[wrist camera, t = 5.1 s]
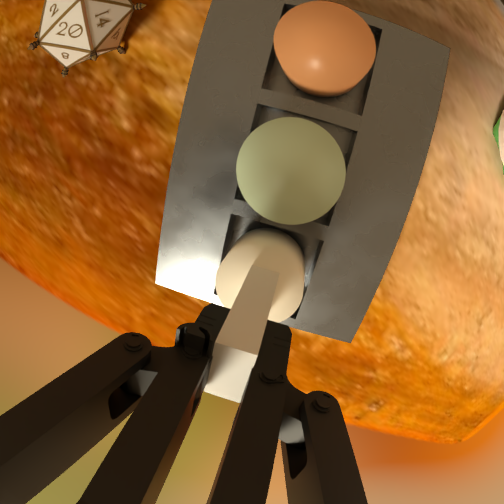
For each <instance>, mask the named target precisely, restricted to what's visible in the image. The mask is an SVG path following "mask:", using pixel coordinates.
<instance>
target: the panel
mask: <svg viewBox="0 0 504 504" xmlns="http://www.w3.org/2000/svg"><path fill="white" fill-rule="evenodd" d="M311 1H319V0H212V3H211V6H210V9H209V12H208V15H207V18H206V22H205V25H204V28H203V32H202V35H201V38H200V42H199V45H198V49H197V53H196V56H195V60H194V64H193V68H192V72H191V75H190V79H189V83H188V88H187V92H186V96H185V100H184V105H183V109H182V114H181V118H180V123H179V128H178V133H177V137H176V143H175V148H174V153H173V158H172V164H171V170H170V175H169V181H168V187H167V194H166V200H165V207H164V214H163V221H162V228H161V236H160V244H159V253H158V262H157V271H156V282H155V283H156V284H159V285H161V286H164V287H167V288H170V289H173V290H176V291H178V292H181V293H184V294H187V295H190V296H193V297H196V298H199V299H202V300H205V301H208V302H211V303H214V304H217V305H220V306H223V305H222V303H221V302H220V300H219V298H218V295H217V292H216V287H215V278H216V273H217V270H218V268H219V266H220V264H221V263H222V261H223V260H224V258H225V257H226V255H227V254H228V253H229V251H230V250H231V248H232V247H233V245H234V244H235V243H236V241H237V240H238V239H239V238H240V237H241V236H242V235H244V234H245V233H247V232H249V231H251V230H254V229H259V228H272V229H277V230H280V231H282V232H284V233H286V234H288V235H289V236H291V237H292V238H293V239H294V240H295V241H296V242H297V243H298V245H299V246H300V248H301V250H302V252H303V254H304V258H305V277H304V290H303V297H302V301H301V303H300V305H299V307H298V308H297V310H296V311H295V312H294V313H293V314H292V315H291V316H290V317H289V318H287V319H286V320H284V321H282V322H279V323H281V324H284V325H288V326H289V327H293V328H296V329H300V330H303V331H307V332H311V333H314V334H318V335H322V336H325V337H329V338H333V339H337V340H341V341H344V342H348V343H351V341H352V339H353V338H354V336H355V334H356V332H357V330H358V328H359V326H360V324H361V322H362V320H363V318H364V316H365V314H366V312H367V310H368V307H369V305H370V303H371V301H372V299H373V297H374V295H375V293H376V290H377V288H378V286H379V284H380V281H381V279H382V277H383V275H384V272H385V270H386V268H387V265H388V263H389V261H390V258H391V256H392V253H393V251H394V248H395V246H396V243H397V241H398V238H399V236H400V233H401V231H402V228H403V225H404V223H405V220H406V217H407V215H408V212H409V209H410V206H411V203H412V200H413V197H414V194H415V192H416V188H417V185H418V182H419V179H420V176H421V173H422V170H423V166H424V163H425V160H426V156H427V153H428V149H429V146H430V142H431V138H432V134H433V131H434V127H435V123H436V119H437V114H438V110H439V106H440V101H441V97H442V92H443V87H444V82H445V76H446V71H447V65H448V59H449V53H450V48H448V47H446V46H444V45H442V44H440V43H438V42H436V41H434V40H432V39H430V38H428V37H425V36H423V35H421V34H419V33H416V32H414V31H412V30H409V29H407V28H405V27H402V26H400V25H397V24H394V23H392V22H389V21H386V20H384V19H381V18H378V17H375V16H372V15H369V14H366V13H363V12H360V11H357V10H353V9H351V10H353V11H354V12H356V13H357V14H358V15H359V16H360V17H361V18H363V20H364V21H365V22H366V23H367V24H368V26H369V28H370V29H371V31H372V33H373V36H374V39H375V44H376V54H375V59H374V62H373V65H372V67H371V68H370V70H369V71H368V73H367V74H366V75H365V76H364V77H363V78H362V79H361V81H360V82H359V83H358V84H357V85H356V86H355V87H354V88H353V89H351V90H350V91H348V92H347V93H345V94H342V95H339V96H335V97H318V96H313V95H310V94H307V93H305V92H303V91H301V90H300V89H298V88H297V87H296V86H294V85H293V84H292V83H291V82H290V81H289V79H288V78H287V77H286V75H285V73H284V71H283V69H282V67H281V64H280V62H279V60H278V58H277V55H276V53H275V49H274V42H273V41H274V32H275V29H276V26H277V24H278V22H279V20H280V19H281V18H282V17H283V15H284V14H285V13H287V12H288V11H289V10H290V9H292V8H294V7H295V6H297V5H300V4H302V3H306V2H311ZM349 9H350V8H349ZM282 117H297V118H302V119H306V120H309V121H312V122H314V123H316V124H318V125H319V126H321V127H322V128H324V129H325V130H326V131H327V132H328V133H329V134H330V135H331V136H332V137H333V138H334V139H335V141H336V142H337V144H338V145H339V147H340V149H341V152H342V154H343V157H344V161H345V169H346V175H345V183H344V187H343V190H342V192H341V195H340V197H339V198H338V200H337V202H336V203H335V204H334V206H333V207H332V208H331V209H330V210H329V211H328V212H327V213H325V214H324V215H323V216H321V217H319V218H318V219H315V220H313V221H311V222H307V223H304V224H297V225H288V224H281V223H277V222H274V221H271V220H269V219H267V218H265V217H263V216H261V215H260V214H259V213H257V212H256V211H255V210H254V209H253V208H252V207H251V206H250V205H249V204H248V203H247V201H246V200H245V198H244V197H243V195H242V193H241V191H240V188H239V185H238V181H237V175H236V164H237V158H238V154H239V151H240V149H241V147H242V145H243V143H244V141H245V140H246V138H247V137H248V136H249V135H250V134H251V133H252V132H253V131H254V130H255V129H256V128H258V127H259V126H260V125H262V124H264V123H266V122H268V121H271V120H274V119H277V118H282ZM223 307H224V306H223Z"/></svg>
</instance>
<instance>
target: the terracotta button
mask: <svg viewBox="0 0 504 504" xmlns="http://www.w3.org/2000/svg"><path fill="white" fill-rule="evenodd" d="M273 42H274V49H275V53H276V55H277V58H278V60H279V62H280V64H281V67H282V69H283V71H284V73H285V75H286V77H287V78H288V79H289V81H290V82H291V83H292V84H293V85H294V86H296V87H297V88H298V89H300V90H301V91H303V92H305V93H307V94H310V95H313V96H318V97H335V96H339V95H342V94H345V93H347V92H348V91H350V90H351V89H353V88H354V87H355V86H356V85H357V84H358V83H359V82H360V81H361V79H362V78H363V77H364V76H365V75H366V74H367V73H368V71H369V70H370V68H371V67H372V65H373V62H374V59H375V54H376V44H375V39H374V36H373V33H372V31H371V29H370V28H369V26H368V24H367V23H366V22H365V21H364V20H363V18H361V17H360V16H359V15H358V14H357V13H356V12H354V11H353V10H351V9H349V8H348V7H346V6H343V5H341V4H338V3H334V2H329V1H311V2H306V3H302V4H300V5H297V6H295V7H294V8H292V9H290V10H289V11H288V12H287V13H285V14H284V15H283V17H282V18H281V19H280V20H279V22H278V24H277V26H276V29H275V32H274V41H273Z"/></svg>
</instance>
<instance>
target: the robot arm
mask: <svg viewBox="0 0 504 504" xmlns="http://www.w3.org/2000/svg"><path fill="white" fill-rule="evenodd" d="M279 274H280V273H277V272H274V271H271V270H268V269H264V268H261V267H258V266H254V265H252V266H251V268H250V270H249V272H248V274H247V276H246V278H245V280H244V282H243V285H242V287H241V289H240V291H239V293H238V295H237V297H236V299H235V301H234V303H233V305H232V308H231V309H229V308H226V307H223V306H220V305H217V304H214V303H211V304H209V305H207V306H206V307H204V308H203V310H202V312H201V313H200V315H199V316H198V318H197V320H196V321H195V323H185V324H182V325H180V326H179V327H178V328H177V331H176V339H175V346H174V347H157V346H152V345H151V342H150V340H149V339H148V338H147V337H146V336H144V335H142V334H140V333H134V332H130V333H125V334H122V335H120V336H119V337H117V338H116V339H114V340H113V341H111V342H110V343H108V344H107V345H105V346H104V347H102V348H101V349H99V350H98V351H96V352H95V353H93V354H92V355H90V356H89V357H87V358H86V359H84V360H83V361H82V362H80V363H78V364H77V365H76V366H74V367H72V368H71V369H69V370H68V371H66V372H65V373H63V374H62V375H61V376H59V377H57V378H56V379H54V380H53V381H51V382H50V383H48V384H47V385H45V386H44V387H42V388H41V389H40V390H38V391H37V392H35V393H34V394H32V395H31V396H29V397H28V398H26V399H25V400H23V401H22V402H20V403H19V404H17V405H16V406H14V407H13V408H11V409H10V410H8V411H7V412H5V413H4V414H2V415H1V416H0V504H26V503H27V502H28V501H29V500H31V499H32V498H33V497H34V496H36V495H37V494H38V493H39V492H40V491H42V490H43V489H44V488H45V487H46V486H47V485H49V484H50V483H51V482H52V481H54V480H55V479H56V478H57V477H59V476H60V475H61V474H62V473H63V472H64V471H65V470H67V469H68V468H69V467H70V466H72V465H73V464H74V463H75V462H76V461H77V460H79V459H80V458H81V457H82V456H83V455H84V454H86V453H87V452H88V451H89V450H90V449H91V448H92V447H94V446H95V445H96V444H97V443H98V442H99V441H100V440H102V439H103V438H104V437H105V436H106V435H107V434H108V433H110V431H112V430H113V429H114V428H115V427H116V426H117V425H119V424H120V423H121V422H122V421H123V420H124V419H125V418H126V417H127V416H129V414H131V413H132V412H133V413H132V415H131V416H130V418H129V419H128V421H127V423H126V424H125V426H124V428H123V429H122V431H121V432H120V434H119V436H118V437H117V439H116V441H115V442H114V444H113V445H112V447H111V449H110V450H109V452H108V454H107V455H106V457H105V458H104V461H103V462H102V463H101V465H100V467H99V468H98V470H97V472H96V474H95V475H94V477H93V478H92V480H91V482H90V483H89V485H88V487H87V488H86V490H85V492H84V493H83V495H82V497H81V498H80V500H79V501H78V502H77V503H76V504H155V503H156V501H157V498H158V496H159V494H160V492H161V489H162V487H163V485H164V483H165V480H166V478H167V476H168V474H169V472H170V469H171V467H172V465H173V463H174V460H175V458H176V456H177V453H178V451H179V449H180V447H181V444H182V442H183V440H184V438H185V435H186V433H187V431H188V428H189V426H190V424H191V422H192V419H193V417H194V415H195V412H196V410H197V408H198V406H199V403H200V400H201V395H202V393H203V390H204V391H205V392H207V393H210V394H214V395H216V396H220V397H222V398H226V399H229V400H232V401H235V402H238V403H240V405H239V407H238V410H237V413H236V416H235V418H234V421H233V425H232V429H231V432H230V435H229V438H228V441H227V444H226V447H225V450H224V453H223V457H222V459H221V462H220V465H219V468H218V471H217V474H216V477H215V480H214V483H213V486H212V489H211V492H210V495H209V498H208V500H207V503H206V504H265V503H266V499H267V493H268V489H269V484H270V479H271V474H272V469H273V464H274V458H275V454H276V449H277V443H278V439H280V440H281V448H282V456H283V464H284V473H285V481H286V488H287V497H288V504H368V503H367V499H366V496H365V492H364V488H363V485H362V481H361V478H360V474H359V470H358V466H357V463H356V459H355V456H354V453H353V449H352V445H351V442H350V438H349V435H348V432H347V428H346V425H345V422H344V418H343V415H342V412H341V408H340V405H339V403H338V401H337V400H336V399H335V398H334V397H333V396H332V395H330V394H329V393H327V392H323V391H312V392H310V393H308V394H305V393H303V392H301V391H300V390H298V389H296V388H295V387H294V386H293V385H292V384H291V383H290V382H289V380H288V378H287V375H286V371H287V364H288V358H289V351H290V344H291V337H292V333H291V330H290V328H289V326H288V325H284V324H281V323H278V322H274V321H271V320H268V316H269V312H270V309H271V305H272V301H273V297H274V293H275V289H276V286H277V282H278V278H279ZM204 388H205V389H204Z"/></svg>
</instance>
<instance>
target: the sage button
mask: <svg viewBox="0 0 504 504" xmlns="http://www.w3.org/2000/svg"><path fill="white" fill-rule="evenodd" d="M236 175H237V181H238V185H239V188H240V191H241V193H242V195H243V197H244V198H245V200H246V201H247V203H248V204H249V205H250V206H251V207H252V208H253V209H254V210H255V211H256V212H257V213H259V214H260V215H261V216H263V217H265V218H267V219H269V220H271V221H274V222H277V223H281V224H288V225H297V224H304V223H307V222H311V221H313V220H315V219H318V218H319V217H321V216H323V215H324V214H325V213H327V212H328V211H329V210H330V209H331V208H332V207H333V206H334V204H335V203H336V202H337V200H338V198H339V197H340V195H341V192H342V190H343V187H344V183H345V175H346V169H345V161H344V157H343V154H342V152H341V149H340V147H339V145H338V144H337V142H336V141H335V139H334V138H333V137H332V136H331V135H330V134H329V133H328V132H327V131H326V130H325V129H324V128H322V127H321V126H319V125H318V124H316V123H314V122H312V121H309V120H306V119H302V118H297V117H282V118H277V119H274V120H271V121H268V122H266V123H264V124H262V125H260V126H259V127H258V128H256V129H255V130H254V131H253V132H252V133H251V134H250V135H249V136H248V137H247V138H246V140H245V141H244V143H243V145H242V147H241V149H240V151H239V154H238V158H237V164H236Z"/></svg>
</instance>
